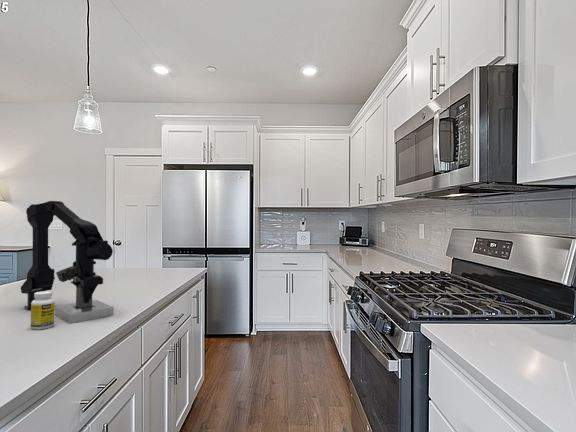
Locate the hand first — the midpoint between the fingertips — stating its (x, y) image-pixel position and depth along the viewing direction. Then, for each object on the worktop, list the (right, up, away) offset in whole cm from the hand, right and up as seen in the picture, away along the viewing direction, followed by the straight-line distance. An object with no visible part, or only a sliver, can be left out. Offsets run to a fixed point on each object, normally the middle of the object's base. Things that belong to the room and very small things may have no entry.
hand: (84, 301), depth 127 cm
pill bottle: (-5, -5, -14) cm, 16 cm away
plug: (0, -2, 0) cm, 2 cm away
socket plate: (0, -5, 0) cm, 5 cm away
